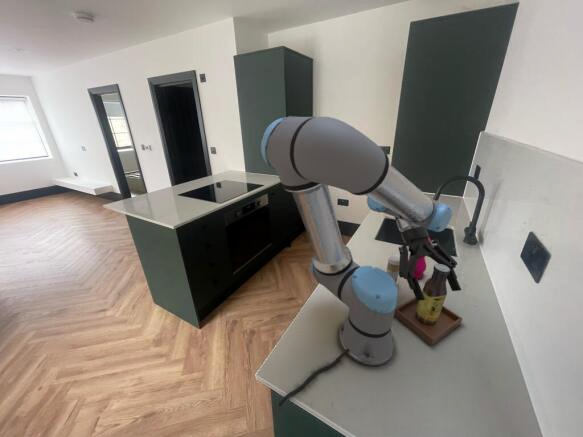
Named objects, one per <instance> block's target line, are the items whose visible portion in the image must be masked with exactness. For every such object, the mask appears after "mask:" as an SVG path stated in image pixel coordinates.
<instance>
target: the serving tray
mask: <svg viewBox="0 0 583 437" xmlns="http://www.w3.org/2000/svg"><path fill="white" fill-rule="evenodd" d="M418 303H419V300H418V301H416V298H415V297H413V298H412V299H410V300H408V301H406V302H404V303H402V304H401V305H399V306H396V308H395V312H394V317H395V318H396V319H398V321H400V322H401V323H402V324H403V325H405V326H406V327H407V328H408V329H410V330H411V331H412V332H413V333H414V334H416V335H417V336H418V337H419V338H421V339H422V340H423V341H424V342H425V343H427V344H428V345H429V346H430V347H432V346H433V345H435V344H436V343H438V342H439V341H440V340H442V339H443V338H444V337H445V336H447V335H449V334H450V333H451V332H453V331H454V330H455V329H457V328H458V327H459V326H461V324H462V321H463V317H461V316H459V315H458V314H456V313H455V312H453V311H452V310H451V309H449V308H447V306H444V305H443V306H442V309H441V312H440V315H439V317H438V320H437V321H436V323H435V324H426V323H423V322H422V321H420V320H419V319H418V318H417V316H416V312H417V306H418Z"/></svg>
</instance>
